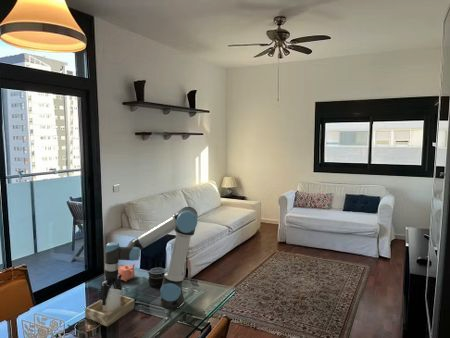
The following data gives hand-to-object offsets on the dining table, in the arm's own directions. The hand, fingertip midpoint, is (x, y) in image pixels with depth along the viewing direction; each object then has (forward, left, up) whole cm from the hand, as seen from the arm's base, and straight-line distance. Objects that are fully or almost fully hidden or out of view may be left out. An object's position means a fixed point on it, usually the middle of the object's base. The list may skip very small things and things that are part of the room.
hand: (110, 306), depth 190 cm
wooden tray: (0, 0, -4) cm, 4 cm away
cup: (0, 0, -1) cm, 1 cm away
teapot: (+24, -41, -5) cm, 48 cm away
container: (0, -46, -5) cm, 46 cm away
